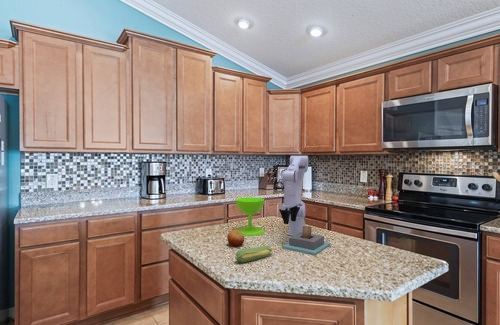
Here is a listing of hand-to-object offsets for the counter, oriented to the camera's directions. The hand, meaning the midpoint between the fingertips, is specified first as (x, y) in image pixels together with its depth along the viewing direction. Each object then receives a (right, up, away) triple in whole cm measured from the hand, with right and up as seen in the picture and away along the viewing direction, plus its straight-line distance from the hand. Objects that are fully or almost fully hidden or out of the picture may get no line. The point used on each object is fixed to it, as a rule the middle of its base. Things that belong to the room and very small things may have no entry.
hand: (289, 222), depth 141 cm
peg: (+7, -9, -7) cm, 13 cm away
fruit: (-26, -10, -5) cm, 29 cm away
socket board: (+7, -10, -7) cm, 14 cm away
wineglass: (-19, -9, +19) cm, 29 cm away
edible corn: (-17, -10, -23) cm, 30 cm away
